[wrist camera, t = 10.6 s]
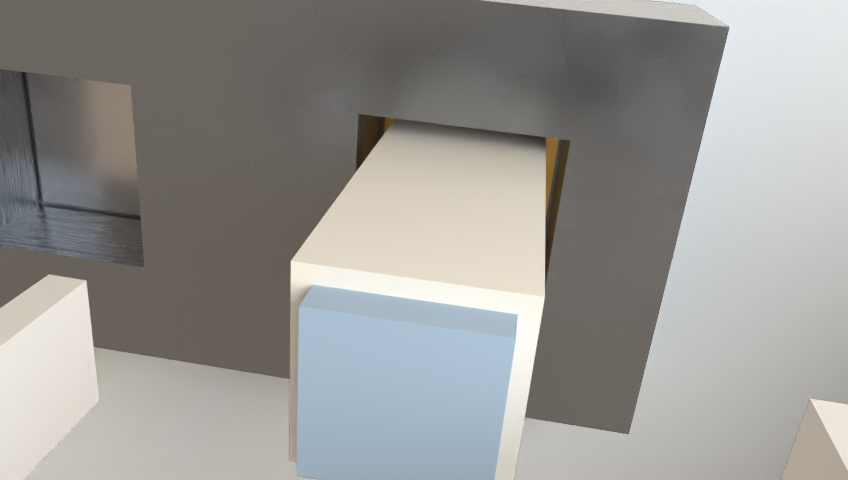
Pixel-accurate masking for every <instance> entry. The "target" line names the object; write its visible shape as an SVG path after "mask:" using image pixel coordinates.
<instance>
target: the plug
mask: <svg viewBox="0 0 848 480" xmlns="http://www.w3.org/2000/svg"><path fill="white" fill-rule="evenodd" d="M545 207H546V137H539V136H531V135H523V134H515V133H507V132H499V131H491V130H483V129H475V128H467V127H459V126H451V125H443V124H435V123H428V122H420V121H412V120H404V119H396V118H395V120H394V121H393V123H392V124H391V125H390V127H389V128H388V129H387V131H386V132H385V133H384V135H383V136H382V138H381V139H380V140H379V142H378V143H377V144H376V146H375V147H374V148H373V150H372V151H371V153H370V154H369V155H368V157H367V158H366V159H365V161H364V162H363V163H362V165H361V166H360V167H359V169H358V170H357V172H356V173H355V174H354V176H353V177H352V178H351V180H350V181H349V182H348V184H347V185H346V187H345V188H344V189H343V191H342V192H341V193H340V195H339V196H338V197H337V199H336V200H335V202H334V203H333V204H332V206H331V207H330V208H329V210H328V211H327V212H326V214H325V215H324V216H323V218H322V219H321V221H320V222H319V223H318V225H317V226H316V227H315V229H314V230H313V231H312V233H311V234H310V236H309V237H308V238H307V240H306V241H305V242H304V244H303V245H302V246H301V248H300V249H299V251H298V252H297V253H296V255H295V256H294V257H293V259H292V260H291V297H290V418H289V461H295V462H297V476H301V477H307V478H313V479H319V480H514V478H515V472H516V466H517V460H518V454H519V448H520V442H521V436H522V430H523V424H524V418H525V413H526V407H527V401H528V395H529V389H530V383H531V377H532V371H533V365H534V359H535V353H536V347H537V341H538V335H539V329H540V323H541V317H542V311H543V305H544V299H545Z"/></svg>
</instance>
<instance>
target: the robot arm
mask: <svg viewBox="0 0 848 480" xmlns="http://www.w3.org/2000/svg"><path fill="white" fill-rule="evenodd" d="M98 401H99V393H98V384H97V375H96V365H95V356H94V347H93V337H92V328H91V319H90V309H89V300H88V291H87V281H86V280H80V279H74V278H68V277H62V276H56V275H50V274H49V275H47V276H46V277H44V278H43V279H42V280H40V281H39V282H37V283H36V284H34V285H33V286H32V287H30V288H29V289H27V290H26V291H24V292H23V293H21V294H20V295H19V296H17V297H16V298H14V299H13V300H11V301H10V302H9V303H7V304H6V305H4V306H3V307H1V308H0V480H24V479H25V478H26V477H27V476H28V475H29V474H30V473H31V471H32V470H33V469H34V468H35V467H36V466H37V465H38V464H39V463H40V462H41V461H42V460H43V459H44V458H45V457H46V456H47V455H48V454H49V453H50V452H51V451H52V450H53V448H54V447H55V446H56V445H57V444H58V443H59V442H60V441H61V440H62V439H63V438H64V437H65V436H66V435H67V434H68V433H69V432H70V431H71V430H72V429H73V428H74V427H75V425H76V424H77V423H78V422H79V421H80V420H81V419H82V418H83V417H84V416H85V415H86V414H87V413H88V412H89V411H90V410H91V409H92V408H93V407H94V406H95V405H96V404H97V402H98ZM781 480H848V404H841V403H835V402H829V401H823V400H817V399H811V398H810V400H809V403H808V405H807V408H806V411H805V414H804V416H803V419H802V422H801V425H800V428H799V430H798V433H797V436H796V439H795V442H794V444H793V447H792V450H791V453H790V456H789V458H788V461H787V464H786V467H785V470H784V472H783V475H782V478H781Z"/></svg>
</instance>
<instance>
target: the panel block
mask: <svg viewBox="0 0 848 480" xmlns="http://www.w3.org/2000/svg"><path fill="white" fill-rule="evenodd" d="M728 31H729V26H727V25H725V24H724V23H722V22H721V21H719V20H718V19H716V18H714V17H713V16H711V15H710V14H708V13H707V12H705V11H703V10H702V9H700V8H699V7H697V6H696V5H687V4H678V3H668V2H659V1H649V0H0V308H1V307H3V306H4V305H6V304H7V303H9V302H10V301H11V300H13V299H14V298H16V297H17V296H19V295H20V294H21V293H23V292H24V291H26V290H27V289H29V288H30V287H32V286H33V285H34V284H36V283H37V282H39V281H40V280H42V279H43V278H44V277H46V276H47V275H49V274H50V275H56V276H62V277H68V278H74V279H80V280H86V281H87V291H88V300H89V309H90V319H91V328H92V337H93V347H98V348H104V349H111V350H117V351H123V352H129V353H135V354H141V355H147V356H153V357H159V358H166V359H172V360H178V361H184V362H190V363H196V364H202V365H208V366H215V367H221V368H227V369H233V370H239V371H245V372H251V373H257V374H264V375H270V376H276V377H282V378H288V379H290V297H291V260H292V259H293V257H294V256H295V255H296V253H297V252H298V251H299V249H300V248H301V246H302V245H303V244H304V242H305V241H306V240H307V238H308V237H309V236H310V234H311V233H312V231H313V230H314V229H315V227H316V226H317V225H318V223H319V222H320V221H321V219H322V218H323V216H324V215H325V214H326V212H327V211H328V210H329V208H330V207H331V206H332V204H333V203H334V202H335V200H336V199H337V197H338V196H339V195H340V193H341V192H342V191H343V189H344V188H345V187H346V185H347V184H348V182H349V181H350V180H351V178H352V177H353V176H354V174H355V173H356V172H357V170H358V169H359V167H360V166H361V165H362V163H363V162H364V161H365V159H366V158H367V157H368V155H369V154H370V153H371V151H372V150H373V148H374V147H375V146H376V144H377V143H378V142H379V140H380V139H381V138H382V136H383V135H384V133H385V132H386V131H387V129H388V128H389V127H390V125H391V124H392V123H393V121H394V120H395V118H396V119H404V120H412V121H420V122H428V123H435V124H443V125H451V126H459V127H467V128H475V129H483V130H491V131H499V132H507V133H515V134H523V135H531V136H539V137H546V207H545V299H544V305H543V311H542V317H541V323H540V329H539V335H538V341H537V347H536V353H535V359H534V365H533V371H532V377H531V383H530V389H529V395H528V401H527V407H526V413H525V417H527V418H533V419H539V420H545V421H551V422H557V423H563V424H569V425H576V426H582V427H588V428H594V429H600V430H606V431H612V432H618V433H625V434H629V431H630V427H631V423H632V418H633V414H634V410H635V406H636V402H637V398H638V394H639V390H640V386H641V382H642V378H643V374H644V370H645V366H646V362H647V358H648V354H649V350H650V346H651V342H652V338H653V334H654V330H655V326H656V321H657V317H658V313H659V309H660V305H661V301H662V297H663V293H664V289H665V285H666V281H667V277H668V273H669V269H670V265H671V261H672V257H673V253H674V249H675V245H676V241H677V237H678V233H679V229H680V224H681V220H682V216H683V212H684V208H685V204H686V200H687V196H688V192H689V188H690V184H691V180H692V176H693V172H694V168H695V164H696V160H697V156H698V152H699V148H700V144H701V140H702V136H703V132H704V127H705V123H706V119H707V115H708V111H709V107H710V103H711V99H712V95H713V91H714V87H715V83H716V79H717V75H718V71H719V67H720V63H721V59H722V55H723V51H724V47H725V43H726V39H727V35H728Z"/></svg>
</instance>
